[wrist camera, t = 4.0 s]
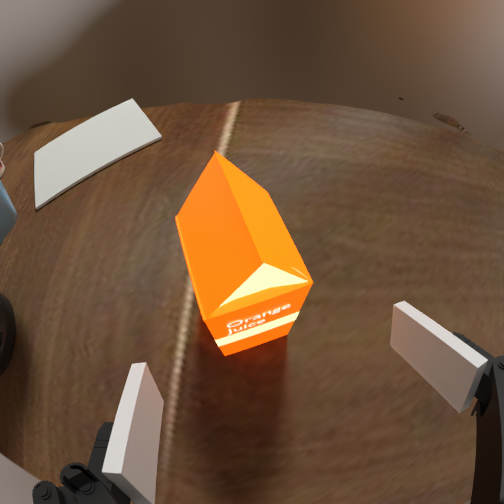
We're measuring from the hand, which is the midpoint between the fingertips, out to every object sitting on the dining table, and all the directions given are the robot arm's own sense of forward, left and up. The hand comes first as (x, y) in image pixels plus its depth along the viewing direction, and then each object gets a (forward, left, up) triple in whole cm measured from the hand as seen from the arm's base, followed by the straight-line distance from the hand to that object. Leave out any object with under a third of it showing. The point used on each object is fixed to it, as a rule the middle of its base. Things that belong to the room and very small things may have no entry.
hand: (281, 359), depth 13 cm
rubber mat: (-6, +55, -18) cm, 58 cm away
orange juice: (+3, +8, -18) cm, 20 cm away
